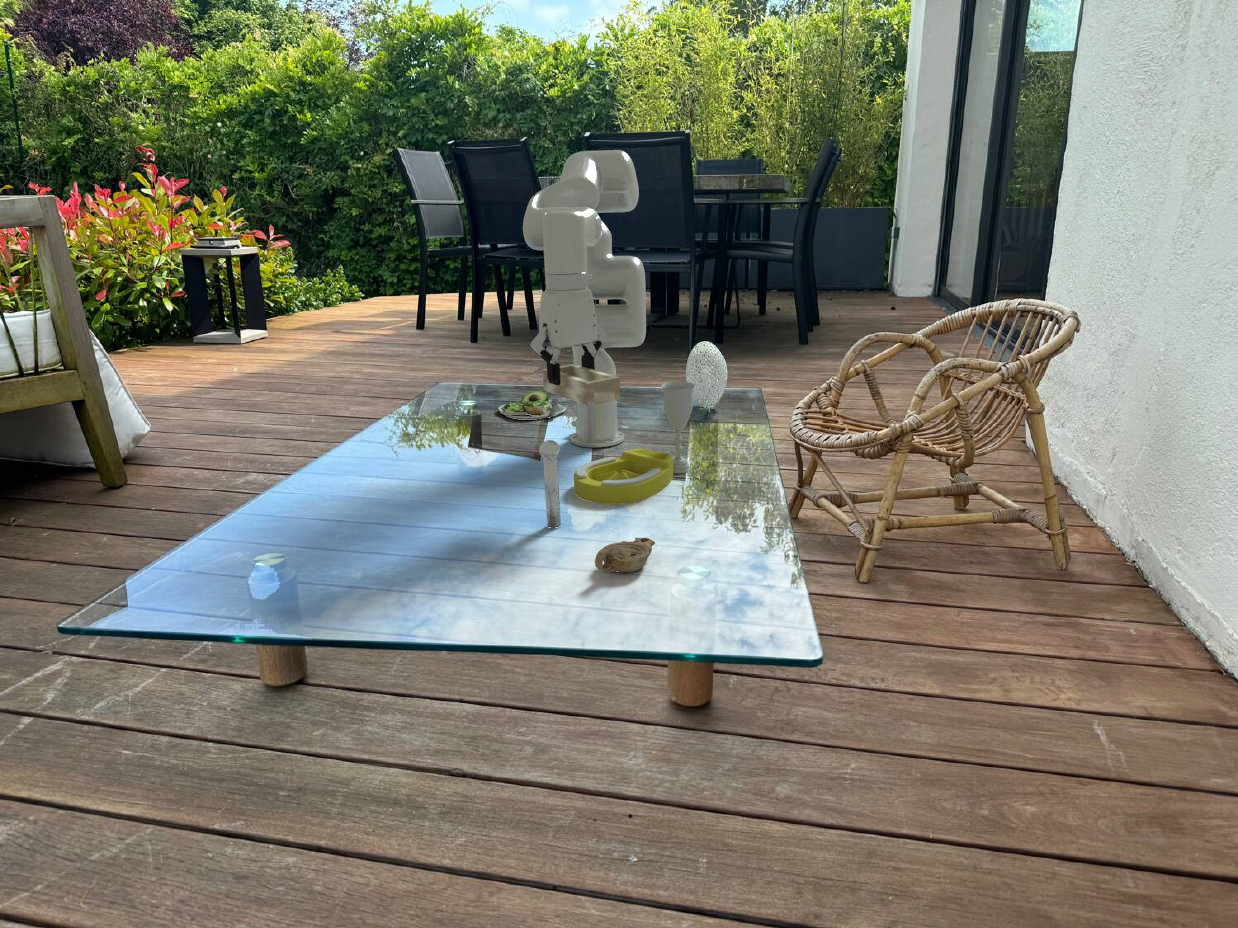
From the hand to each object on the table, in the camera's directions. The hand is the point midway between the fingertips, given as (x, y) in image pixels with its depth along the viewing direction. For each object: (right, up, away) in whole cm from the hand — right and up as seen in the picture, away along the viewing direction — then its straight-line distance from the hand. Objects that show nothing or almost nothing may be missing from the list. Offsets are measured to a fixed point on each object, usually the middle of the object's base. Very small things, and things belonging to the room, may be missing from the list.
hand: (571, 379), depth 157 cm
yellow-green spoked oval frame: (+10, -21, +12) cm, 26 cm away
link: (+2, -3, -2) cm, 4 cm away
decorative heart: (+32, -1, +69) cm, 76 cm away
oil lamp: (+10, -32, -24) cm, 41 cm away
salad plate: (-14, -2, +71) cm, 72 cm away
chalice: (+21, -17, +21) cm, 34 cm away
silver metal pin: (-3, -27, -7) cm, 27 cm away
